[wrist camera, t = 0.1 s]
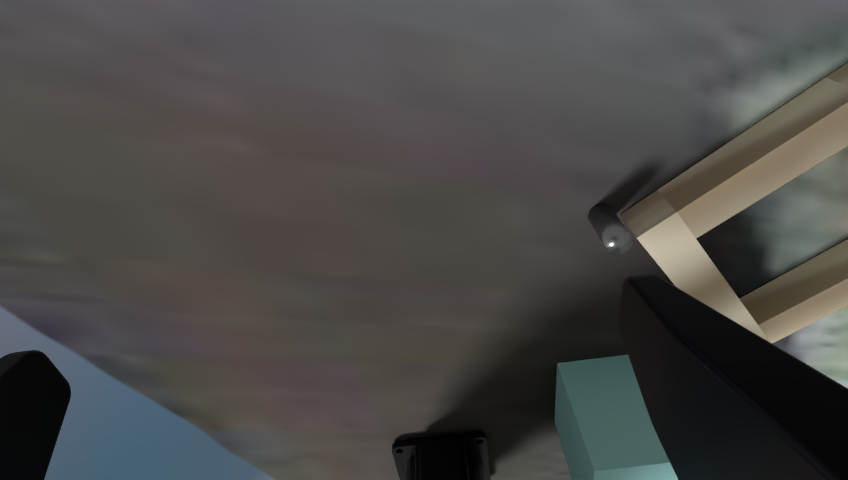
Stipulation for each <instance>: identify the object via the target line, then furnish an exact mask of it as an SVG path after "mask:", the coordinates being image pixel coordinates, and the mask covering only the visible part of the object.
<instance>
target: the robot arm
mask: <svg viewBox="0 0 848 480" xmlns="http://www.w3.org/2000/svg"><path fill="white" fill-rule="evenodd" d="M618 323H619V329H620V333H621V336H622V339H623V341H624V344H625V347H626V350H627V353H628V356H629V359H630V362H631V365H632V368H633V371H634V374H635V376H636V379H637V382H638V385H639V388H640V391H641V394H642V397H643V400H644V403H645V406H646V408H647V411H648V414H649V417H650V419H651V422H652V424H653V427H654V429H655V431H656V434H657V436H658V438H659V440H660V442H661V444H662V447H663V449H664V451H665V453H666V455H667V457H668V459H669V461H670V463H671V466H672V468H673V470H674V472H675V474H676V476H677V478H678V480H848V388H846V387H844V386H842V385H841V384H839V383H837V382H836V381H834V380H832V379H831V378H829V377H827V376H826V375H824V374H822V373H821V372H819V371H817V370H815V369H814V368H812V367H810V366H809V365H807V364H805V363H804V362H802V361H800V360H799V359H797V358H795V357H794V356H792V355H790V354H789V353H787V352H785V351H783V350H782V349H780V348H778V347H777V346H775V345H773V344H772V343H770V342H768V341H767V340H765V339H763V338H762V337H760V336H758V335H757V334H755V333H753V332H751V331H750V330H748V329H746V328H745V327H743V326H741V325H740V324H738V323H736V322H735V321H733V320H731V319H730V318H728V317H726V316H724V315H723V314H721V313H719V312H718V311H716V310H714V309H713V308H711V307H709V306H708V305H706V304H704V303H703V302H701V301H699V300H698V299H696V298H694V297H692V296H691V295H689V294H687V293H686V292H684V291H682V290H681V289H679V288H677V287H676V286H674V285H672V284H671V283H669V282H667V281H665V280H664V279H662V278H660V277H659V276H657V275H654V274H646V275H638V276H630V277H628V278H626V279H625V281H624V283H623V287H622V294H621V301H620V308H619V315H618ZM70 397H71V390H70V386H69V383H68V382H67V380H66V379H65V378H64V376H63V375H62V374H61V373H60V372H59V370H58V369H57V368H56V367H55V365H54V364H53V363H52V362H51V361H50V360H49V358H48V357H47V356H46V355H45V354H44V353H42V352H40V351H36V350H32V351H23V352H15V353H11V354H8V355H6V356H4V357H2V358H0V480H44V478H45V475H46V472H47V468H48V466H49V463H50V460H51V456H52V453H53V450H54V447H55V444H56V441H57V438H58V435H59V432H60V429H61V426H62V423H63V420H64V416H65V413H66V410H67V407H68V404H69V401H70ZM392 453H393V456H394V460H395V463H396V467H397V470H398V474H399V477H400V480H491V479H490V468H489V457H488V446H487V438H486V434H485V433H483V432H475V433H466V434H458V435H449V436H441V437H433V438H424V439H416V440H407V441H399V442H395V443H393V445H392Z"/></svg>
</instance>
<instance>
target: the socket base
mask: <svg viewBox="0 0 848 480" xmlns="http://www.w3.org/2000/svg"><path fill="white" fill-rule="evenodd" d="M847 146H848V63H846V64H845V65H843V66H842V67H840V68H839V69H837V70H836V71H834V72H833V73H831V74H830V75H828V76H827V77H825V78H824V79H822V80H821V81H819V82H818V83H816V84H815V85H813V86H812V87H810V88H809V89H807V90H806V91H804V92H803V93H801V94H800V95H798V96H797V97H795V98H794V99H792V100H791V101H789V102H788V103H786V104H785V105H783V106H782V107H780V108H779V109H777V110H776V111H774V112H773V113H771V114H770V115H768V116H767V117H765V118H764V119H762V120H761V121H759V122H758V123H757V124H755V125H754V126H752V127H751V128H749V129H748V130H746V131H745V132H743V133H742V134H740V135H739V136H737V137H736V138H734V139H733V140H731V141H730V142H728V143H727V144H725V145H724V146H722V147H721V148H719V149H718V150H716V151H715V152H713V153H712V154H710V155H709V156H707V157H706V158H704V159H703V160H701V161H700V162H698V163H697V164H695V165H694V166H692V167H691V168H689V169H688V170H686V171H685V172H683V173H682V174H680V175H679V176H677V177H676V178H674V179H673V180H671V181H670V182H668V183H667V184H665V185H664V186H662V187H661V188H659V189H658V190H656V191H655V192H653V193H652V194H650V195H649V196H647V197H646V198H645V199H643V200H642V201H640V202H639V203H637V204H636V205H634V206H633V207H631V208H630V209H628V210H627V211H625V212H624V213H622V214H621V217H622V218H623V219H624V221H625V222H626V224H627V225H628V227H629V228H630V229H631V231H632V232H633V234H634V235H635V237H636V238H637V239H638V240H639V242H640V243H641V244H642V245H643V247H644V248H645V249H646V250H647V252H648V253H649V254H650V255H651V257H652V258H653V259H654V260H655V261H656V263H657V264H658V265H659V266H660V268H661V269H662V270H663V271H664V273H665V274H666V275H667V276H668V278H669V279H670V280H671V281H672V282H673V284H674V285H675V286H676V287H677V288H679V289H681V290H682V291H684V292H686V293H687V294H689V295H691V296H692V297H694V298H696V299H698V300H699V301H701V302H703V303H704V304H706V305H708V306H709V307H711V308H713V309H714V310H716V311H718V312H719V313H721V314H723V315H724V316H726V317H728V318H730V319H731V320H733V321H735V322H736V323H738V324H740V325H741V326H743V327H745V328H746V329H748V330H750V331H751V332H753V333H755V334H757V335H758V336H760V337H762V338H763V339H765V340H767V341H768V342H770V343H774V342H776V341H778V340H780V339H782V338H784V337H786V336H788V335H790V334H792V333H794V332H796V331H798V330H800V329H802V328H804V327H806V326H808V325H810V324H812V323H814V322H816V321H818V320H820V319H822V318H824V317H826V316H828V315H830V314H831V313H833V312H835V311H837V310H839V309H841V308H843V307H845V306H847V305H848V239H847V240H845V241H843V242H842V243H840V244H838V245H836V246H834V247H832V248H831V249H829V250H827V251H825V252H823V253H821V254H820V255H818V256H816V257H814V258H812V259H811V260H809V261H807V262H805V263H803V264H801V265H800V266H798V267H796V268H794V269H792V270H790V271H789V272H787V273H785V274H783V275H781V276H780V277H778V278H776V279H774V280H772V281H770V282H769V283H767V284H765V285H763V286H761V287H759V288H758V289H756V290H754V291H752V292H750V293H749V294H747V295H745V296H743V297H741V298H738V297H737V295H736V294H735V292H734V291H733V290H732V288H731V287H730V285H729V284H728V283H727V281H726V280H725V278H724V277H723V276H722V274H721V273H720V272H719V270H718V269H717V267H716V266H715V265H714V263H713V262H712V260H711V259H710V258H709V256H708V255H707V253H706V252H705V251H704V249H703V248H702V246H701V245H700V244H699V242H698V241H697V240H696V238H698V237H700V236H701V235H703V234H705V233H706V232H708V231H709V230H711V229H713V228H714V227H716V226H718V225H719V224H721V223H722V222H724V221H726V220H727V219H729V218H731V217H732V216H734V215H736V214H737V213H739V212H740V211H742V210H744V209H745V208H747V207H749V206H750V205H752V204H753V203H755V202H757V201H758V200H760V199H762V198H763V197H765V196H767V195H768V194H770V193H771V192H773V191H775V190H776V189H778V188H780V187H781V186H783V185H785V184H786V183H788V182H789V181H791V180H793V179H794V178H796V177H798V176H799V175H801V174H802V173H804V172H806V171H807V170H809V169H811V168H812V167H814V166H816V165H817V164H819V163H820V162H822V161H824V160H825V159H827V158H829V157H830V156H832V155H833V154H835V153H837V152H838V151H840V150H842V149H843V148H845V147H847ZM588 219H589V221H590V223H591V224H592V226H593V228H594V229H595V231H596V233H597V234H598V236H599V238H600V239H601V241H602V243H603V245H604V246H605V248H606V250H607V251H608V252H609V253H610V254H613V255H620V254H623V253H625V252H627V251H628V250H629V249H630V248H631V246H632V244H633V238H632V236H631V235H630V234H629V232H628V231H627V229H626V228H625V226H624V225H623V223H622V222H621V221H620V219H619V218H618V216H617V215H616V213H615V212H614V210H613V209H612V207H611V206H609V205H607V204H599V205H597V206H595V207H593V208H592V209H591V210H590V212H589V215H588Z"/></svg>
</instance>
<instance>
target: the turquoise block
mask: <svg viewBox="0 0 848 480" xmlns="http://www.w3.org/2000/svg"><path fill="white" fill-rule="evenodd" d="M555 425H556V428H557V431H558V435H559V438H560V441H561V445H562V448H563V451H564V455H565V458H566V461H567V464H568V468H569V471H570V474H571V478H572V480H678V478H677V476H676V474H675V472H674V470H673V468H672V466H671V463H670V461H669V459H668V457H667V455H666V453H665V451H664V449H663V447H662V444H661V442H660V440H659V438H658V436H657V434H656V431H655V429H654V427H653V424H652V422H651V419H650V417H649V414H648V411H647V408H646V406H645V403H644V400H643V397H642V394H641V391H640V388H639V385H638V382H637V379H636V376H635V374H634V371H633V368H632V365H631V362H630V359H629V356H628V355H620V356H612V357H604V358H595V359H587V360H579V361H571V362H563V363H557V377H556V400H555Z"/></svg>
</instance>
